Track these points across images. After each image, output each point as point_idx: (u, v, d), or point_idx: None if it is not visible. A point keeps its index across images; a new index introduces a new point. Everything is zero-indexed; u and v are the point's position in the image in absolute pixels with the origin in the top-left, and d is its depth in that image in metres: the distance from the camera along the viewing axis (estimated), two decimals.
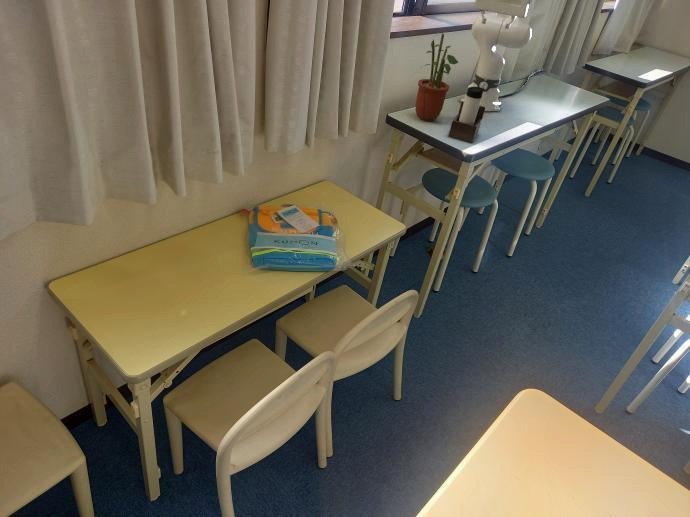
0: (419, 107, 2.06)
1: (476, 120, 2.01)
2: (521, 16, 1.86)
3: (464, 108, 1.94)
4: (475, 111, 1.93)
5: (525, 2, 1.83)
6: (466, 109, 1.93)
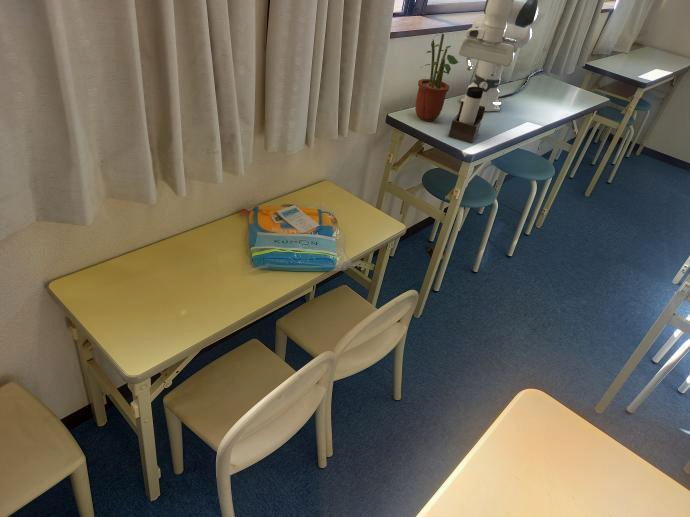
0: (419, 107, 2.06)
1: (476, 120, 2.01)
2: (507, 65, 1.80)
3: (464, 108, 1.94)
4: (475, 111, 1.93)
5: (510, 51, 1.77)
6: (466, 109, 1.93)
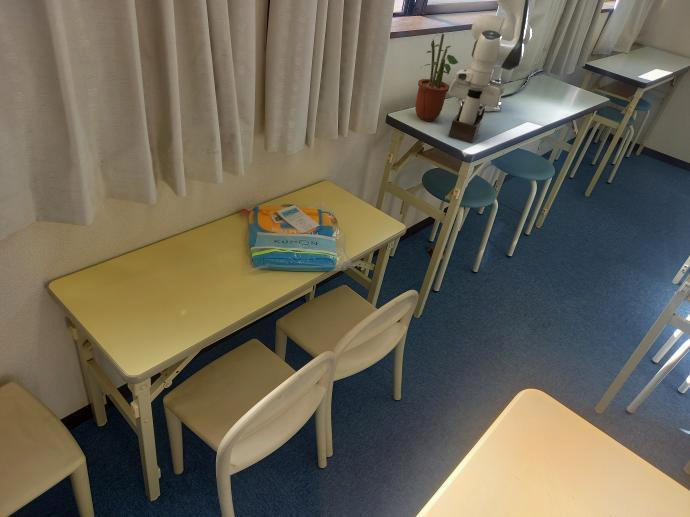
0: (419, 107, 2.06)
1: (476, 120, 2.01)
2: (494, 106, 1.89)
3: (464, 108, 1.93)
4: (475, 111, 1.93)
5: (497, 93, 1.86)
6: (466, 109, 1.93)
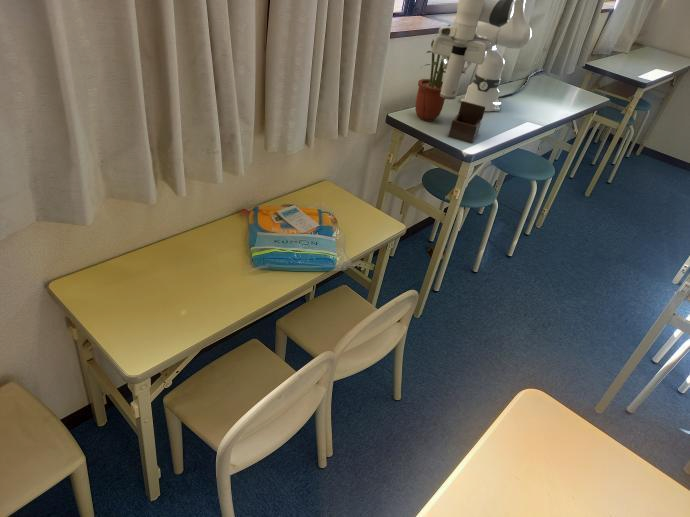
0: (419, 107, 2.06)
1: (476, 120, 2.01)
2: (479, 63, 1.80)
3: (449, 66, 1.84)
4: (460, 69, 1.84)
5: (482, 49, 1.77)
6: (450, 67, 1.83)
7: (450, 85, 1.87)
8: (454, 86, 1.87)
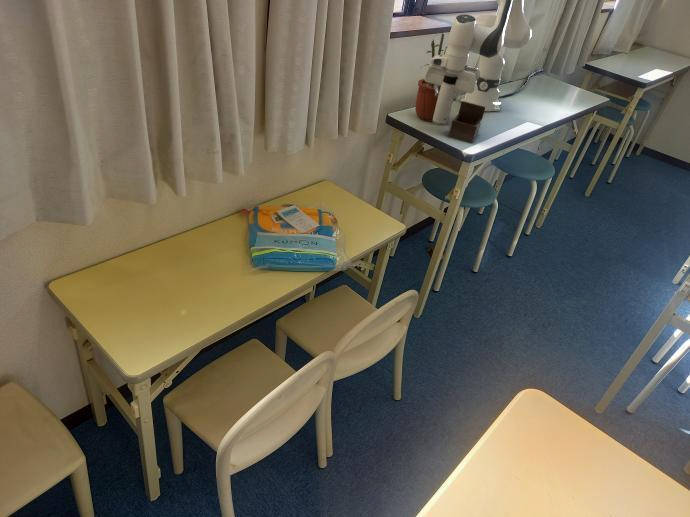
0: (419, 107, 2.06)
1: (476, 120, 2.01)
2: (470, 92, 1.86)
3: (440, 94, 1.91)
4: (451, 97, 1.90)
5: (473, 79, 1.83)
6: (442, 95, 1.90)
7: (442, 112, 1.93)
8: (446, 113, 1.94)
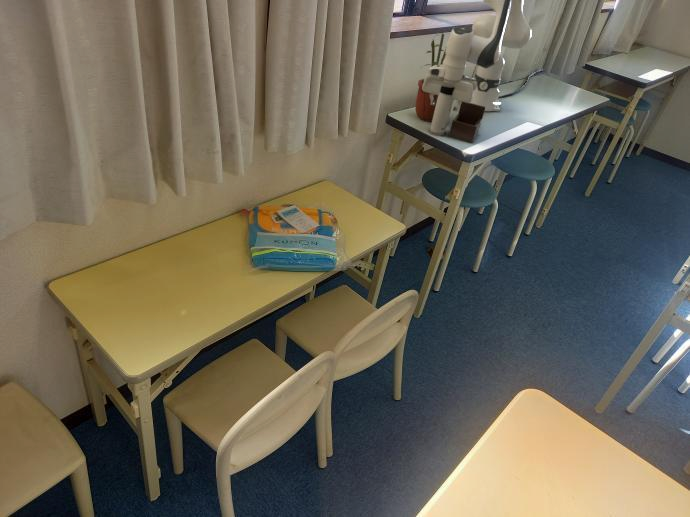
0: (419, 107, 2.06)
1: (476, 120, 2.01)
2: (467, 101, 1.88)
3: (438, 105, 1.93)
4: (448, 108, 1.93)
5: (470, 89, 1.86)
6: (439, 106, 1.92)
7: (439, 122, 1.96)
8: (443, 123, 1.96)
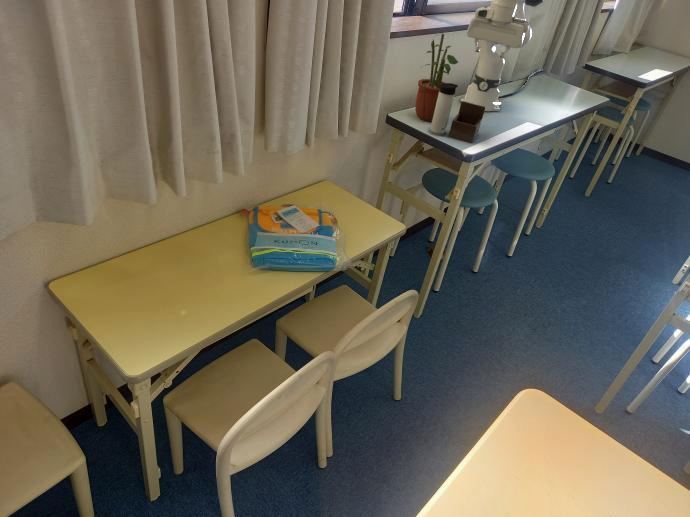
0: (419, 107, 2.06)
1: (476, 120, 2.01)
2: (516, 46, 1.74)
3: (437, 105, 1.93)
4: (448, 108, 1.93)
5: (520, 31, 1.71)
6: (439, 105, 1.92)
7: (439, 122, 1.96)
8: (443, 123, 1.96)
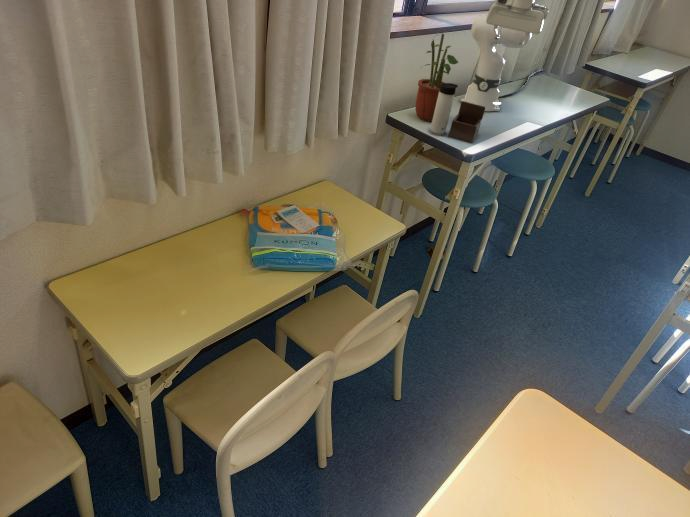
0: (419, 107, 2.06)
1: (476, 120, 2.01)
2: (536, 32, 1.76)
3: (437, 105, 1.93)
4: (448, 108, 1.93)
5: (540, 18, 1.73)
6: (439, 105, 1.92)
7: (439, 122, 1.96)
8: (443, 123, 1.96)
